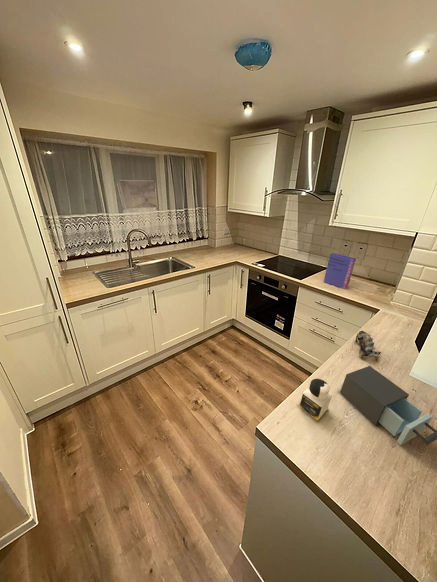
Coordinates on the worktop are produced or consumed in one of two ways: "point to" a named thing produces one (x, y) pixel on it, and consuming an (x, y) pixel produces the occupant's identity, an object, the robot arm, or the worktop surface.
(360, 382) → the dark grey drawer box
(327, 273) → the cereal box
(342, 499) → the worktop surface
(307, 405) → the medicine bottle
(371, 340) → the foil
